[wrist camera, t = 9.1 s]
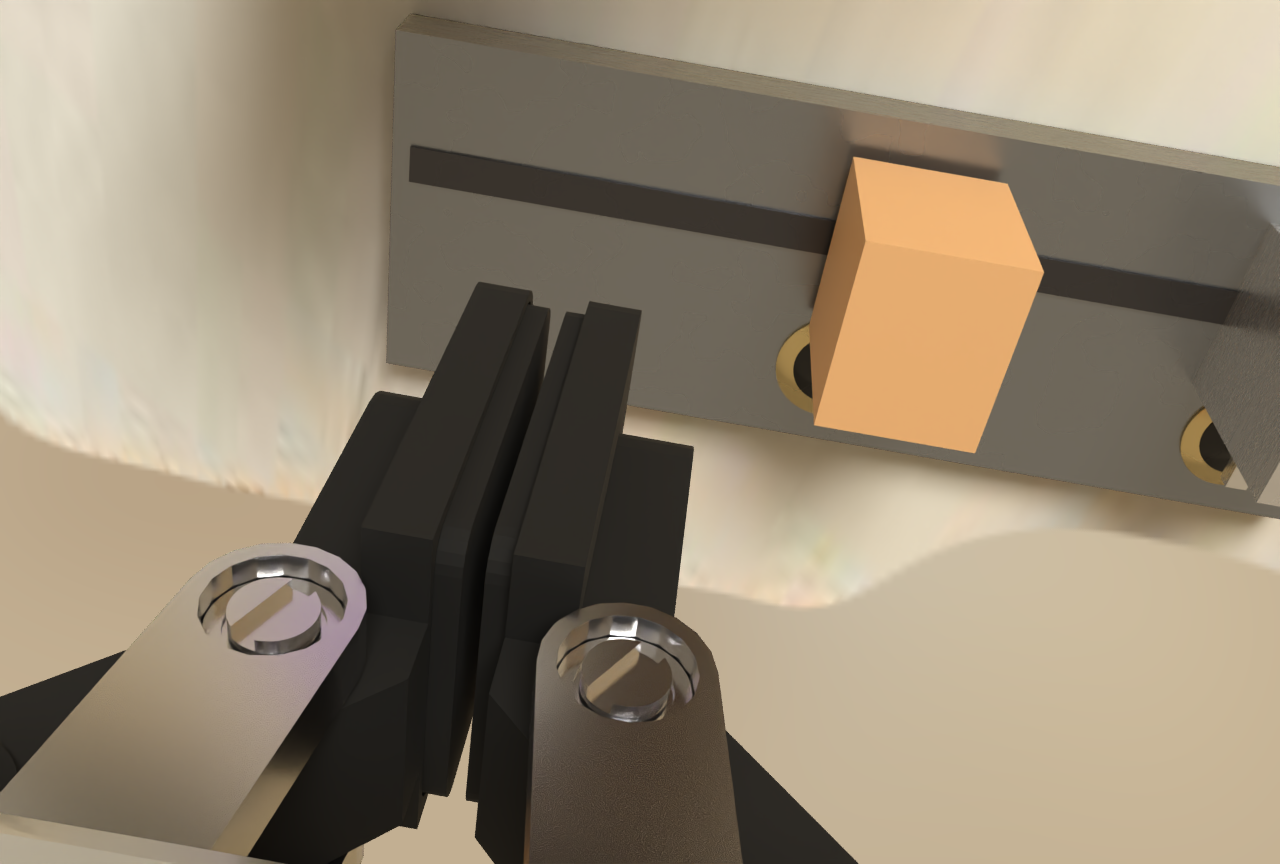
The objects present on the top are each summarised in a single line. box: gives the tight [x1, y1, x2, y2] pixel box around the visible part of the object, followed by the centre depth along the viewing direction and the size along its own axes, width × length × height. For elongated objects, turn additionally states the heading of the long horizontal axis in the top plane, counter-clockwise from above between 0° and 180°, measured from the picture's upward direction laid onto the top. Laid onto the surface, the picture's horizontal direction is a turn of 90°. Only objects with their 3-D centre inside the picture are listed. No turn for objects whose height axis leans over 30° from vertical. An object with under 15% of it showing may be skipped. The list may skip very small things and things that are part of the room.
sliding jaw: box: [809, 157, 1044, 453], centre depth 30 cm, size 4×8×5 cm, turn 171°
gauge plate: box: [386, 14, 1280, 519], centre depth 31 cm, size 28×10×7 cm, turn 81°
